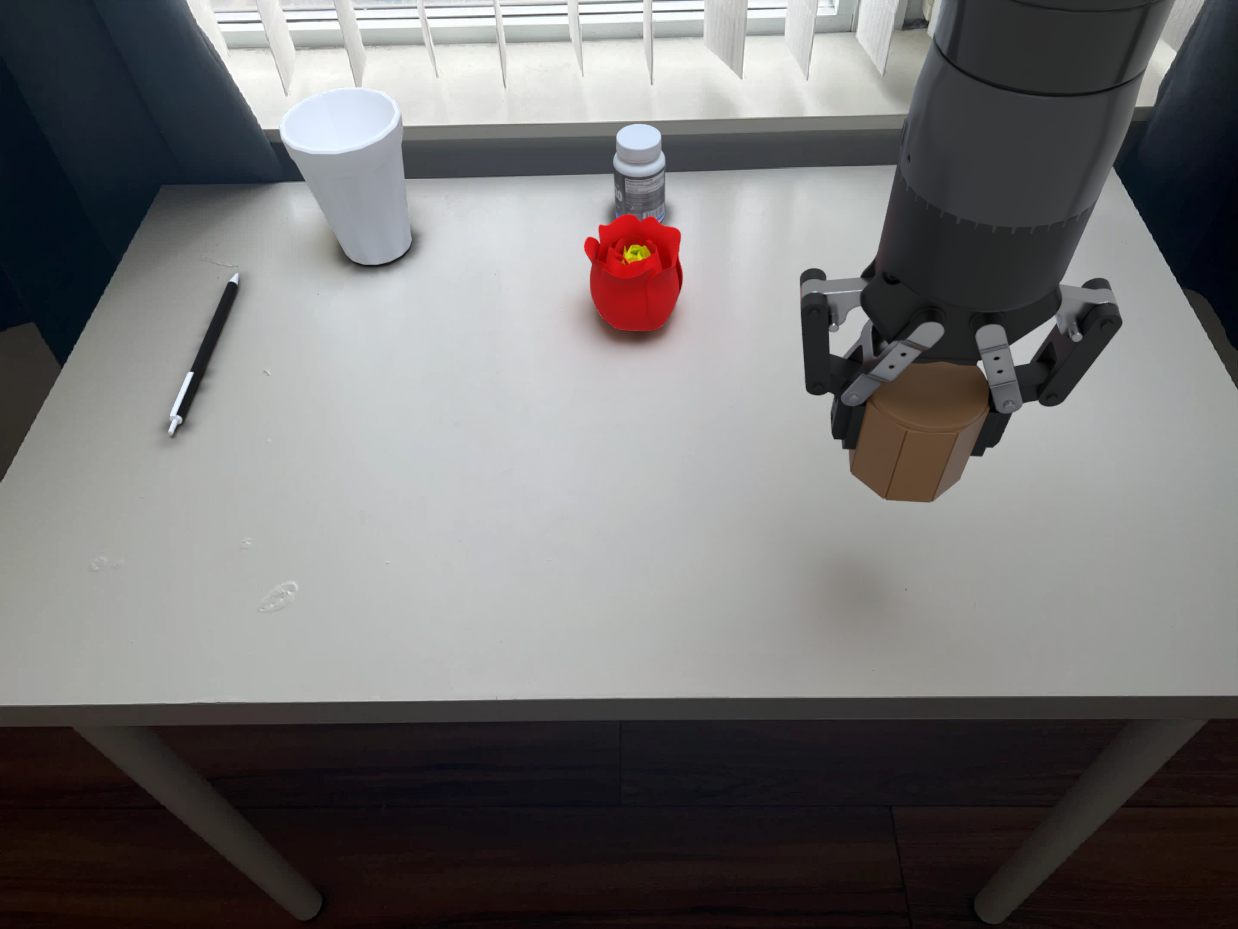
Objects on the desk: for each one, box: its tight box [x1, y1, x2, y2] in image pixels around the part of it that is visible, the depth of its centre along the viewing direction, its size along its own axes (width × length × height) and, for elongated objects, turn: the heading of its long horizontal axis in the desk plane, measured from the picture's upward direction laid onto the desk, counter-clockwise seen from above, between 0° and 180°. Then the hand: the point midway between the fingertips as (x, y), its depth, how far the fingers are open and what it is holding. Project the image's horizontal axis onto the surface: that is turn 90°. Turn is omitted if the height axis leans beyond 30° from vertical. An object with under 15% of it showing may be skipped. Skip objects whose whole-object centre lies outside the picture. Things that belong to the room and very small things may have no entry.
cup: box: [278, 86, 413, 266], centre depth 79 cm, size 10×10×13 cm
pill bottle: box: [612, 123, 666, 224], centre depth 82 cm, size 5×5×8 cm
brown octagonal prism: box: [848, 361, 990, 504], centre depth 46 cm, size 6×6×6 cm
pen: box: [167, 271, 240, 436], centre depth 75 cm, size 1×19×1 cm, turn 179°
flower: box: [583, 214, 684, 332], centre depth 73 cm, size 8×8×8 cm
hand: (909, 439), depth 47 cm, fingers closed on brown octagonal prism, 5 cm apart
